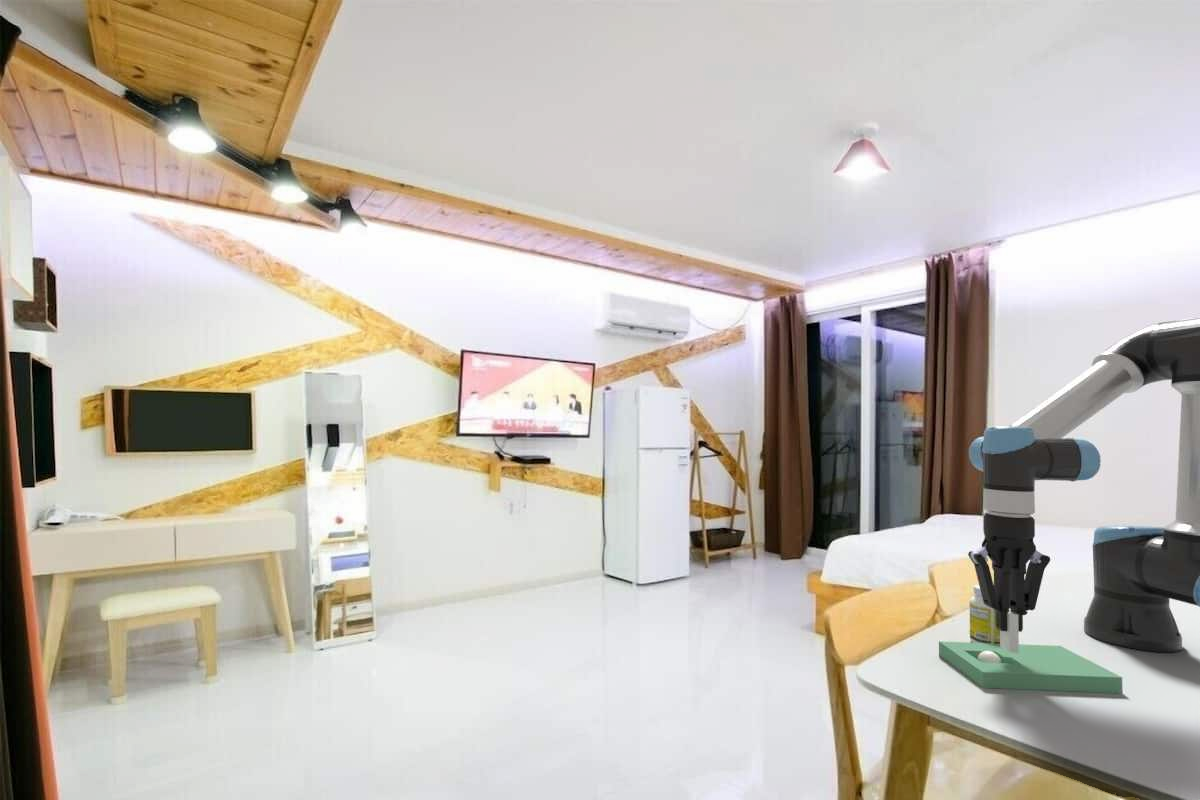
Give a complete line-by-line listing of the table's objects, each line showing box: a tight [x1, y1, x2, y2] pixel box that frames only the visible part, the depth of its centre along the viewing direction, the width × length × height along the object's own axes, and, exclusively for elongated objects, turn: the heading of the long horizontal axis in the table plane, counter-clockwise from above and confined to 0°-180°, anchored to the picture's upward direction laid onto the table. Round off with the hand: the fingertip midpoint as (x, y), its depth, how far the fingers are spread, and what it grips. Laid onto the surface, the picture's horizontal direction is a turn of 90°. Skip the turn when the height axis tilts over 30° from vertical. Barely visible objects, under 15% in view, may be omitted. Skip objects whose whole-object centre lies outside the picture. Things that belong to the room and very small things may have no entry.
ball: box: [978, 651, 1001, 663], centre depth 106 cm, size 4×4×4 cm
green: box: [938, 641, 1123, 694], centre depth 105 cm, size 22×14×2 cm, turn 87°
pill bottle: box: [969, 584, 1000, 644], centre depth 119 cm, size 6×6×11 cm
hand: (1009, 649), depth 106 cm, fingers closed
